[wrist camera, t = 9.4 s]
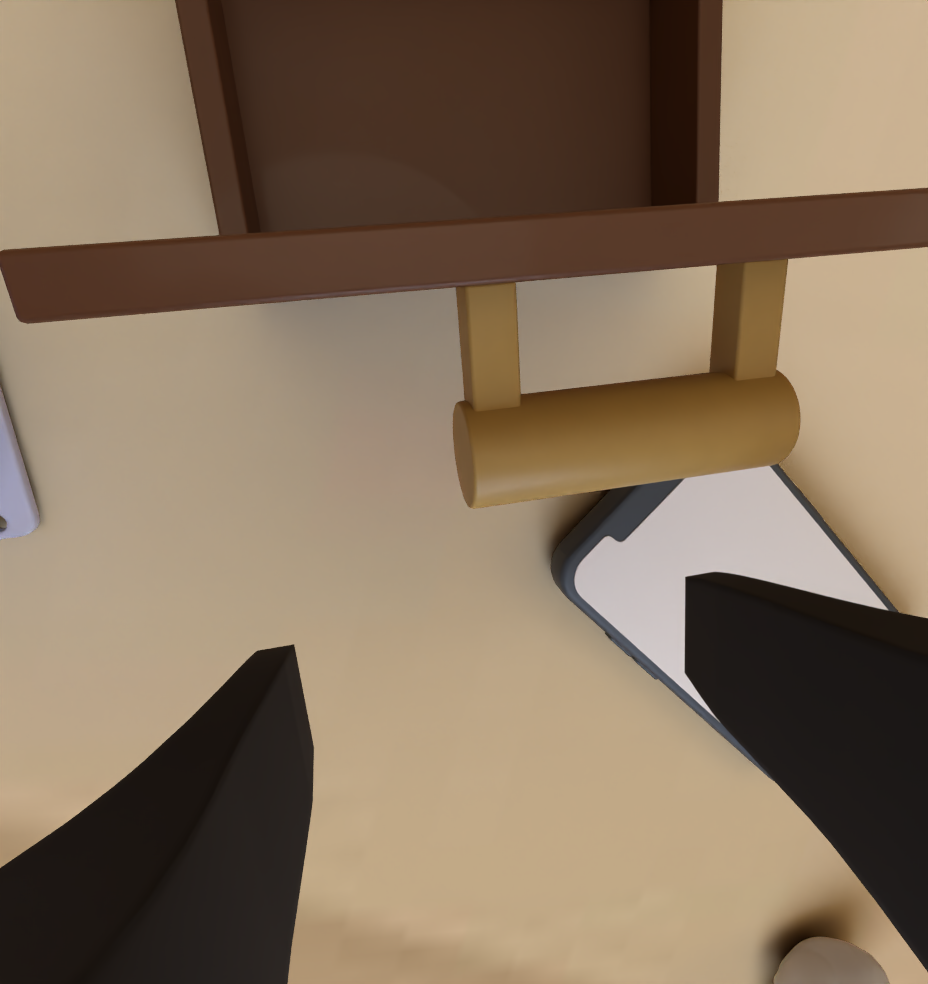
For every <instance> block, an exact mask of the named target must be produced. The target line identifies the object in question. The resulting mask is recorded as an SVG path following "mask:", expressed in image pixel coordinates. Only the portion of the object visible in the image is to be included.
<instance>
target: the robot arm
mask: <svg viewBox="0 0 928 984" xmlns="http://www.w3.org/2000/svg"><path fill="white" fill-rule="evenodd" d="M0 516H1V517H3V518H4V519H5V520H6V522H7V528H2V527H0V539H6V538H14V537H21V536H24V535H27V534H29V533H31V532H33V531H34V530H35V529H36V528H37V527H38V525H39V523H40V515H39V512H38V509H37V505H36V502H35V499H34V495H33V492H32V489H31V486H30V482H29V479H28V476H27V472H26V469H25V466H24V462H23V459H22V456H21V452H20V449H19V446H18V442H17V439H16V436H15V432H14V429H13V426H12V423H11V419H10V416H9V413H8V409H7V406H6V403H5V399H4V396H3V393H2V389H1V386H0ZM685 674H686V676H687V677H688V679H689V680H690V682H691V683H692V684H693V686H694V687H695V689H696V690H697V692H698V693H699V695H700V696H701V698H702V699H703V701H704V702H705V703H706V705H707V706H708V707H709V709H710V710H711V712H712V713H713V714H714V716H715V717H716V718H717V719H718V720H719V721H720V723H721V724H722V725H723V726H724V727H725V728H726V729H727V730H728V732H729V733H730V734H731V735H732V736H733V737H734V738H735V739H736V740H737V741H738V742H739V744H740V745H741V746H742V747H743V748H744V749H745V750H746V751H747V752H748V753H749V754H750V755H751V757H752V758H753V759H754V760H755V761H756V762H757V763H758V764H759V765H760V766H761V767H762V768H763V769H764V770H765V771H766V773H767V774H768V775H769V776H770V777H771V778H772V779H773V780H774V781H775V782H776V783H777V784H778V785H779V786H780V788H781V789H782V790H783V791H784V792H785V793H786V794H787V795H788V796H789V797H790V798H791V799H792V800H793V801H794V803H795V804H796V805H797V806H798V807H799V808H800V809H801V810H802V811H803V812H804V813H805V814H806V815H807V816H808V817H809V819H810V820H811V821H812V822H813V823H814V824H815V826H816V827H817V828H818V829H819V830H820V831H821V832H822V834H823V835H824V836H825V837H826V838H827V839H828V841H829V842H830V843H831V844H832V845H833V847H834V848H835V849H836V850H837V852H838V853H839V854H840V856H841V857H842V858H843V859H844V861H845V862H846V863H847V865H848V866H849V867H850V868H851V870H852V871H853V872H854V874H855V875H856V876H857V877H858V879H859V880H860V881H861V883H862V884H863V885H864V886H865V888H866V889H867V890H868V892H869V893H870V894H871V895H872V897H873V898H874V899H875V901H876V902H877V903H878V905H879V906H880V907H881V909H882V910H883V911H884V913H885V914H886V916H887V917H888V918H889V920H890V921H891V922H892V924H893V925H894V926H895V928H896V929H897V931H898V932H899V933H900V935H901V936H902V937H903V939H904V940H905V941H906V943H907V944H908V946H909V947H910V948H911V950H912V951H913V952H914V954H915V955H916V956H917V958H918V959H919V961H920V962H921V963H922V965H923V966H924V967H925V969H926V970H927V971H928V618H923V617H917V616H912V615H908V614H903V613H898V612H894V611H889V610H884V609H880V608H875V607H870V606H866V605H862V604H857V603H853V602H849V601H845V600H841V599H836V598H832V597H828V596H824V595H820V594H816V593H812V592H808V591H804V590H800V589H797V588H793V587H789V586H785V585H781V584H776V583H772V582H768V581H764V580H760V579H756V578H751V577H747V576H742V575H737V574H731V573H724V572H709V573H704V574H698V575H692V576H686V577H685ZM313 760H314V746H313V741H312V736H311V730H310V725H309V720H308V715H307V709H306V704H305V699H304V694H303V689H302V683H301V678H300V673H299V668H298V663H297V657H296V652H295V647H294V645H288V646H283V647H277V648H271V649H265V650H260V651H256V652H255V653H254V654H253V655H252V656H251V657H250V658H249V659H248V660H247V661H246V662H245V663H244V664H243V665H242V666H241V667H240V668H239V669H238V670H237V671H236V672H235V673H234V674H233V675H232V676H231V677H230V678H229V679H228V680H227V682H226V683H225V684H224V685H223V686H222V687H221V688H220V689H219V690H218V691H217V692H216V693H215V694H214V695H213V696H212V697H211V698H210V699H209V700H208V701H207V702H206V703H205V704H204V705H203V706H202V707H201V708H200V709H199V710H198V711H197V712H196V713H195V714H194V715H193V716H192V717H191V718H190V719H189V720H188V721H187V722H186V723H185V724H184V725H183V726H181V727H180V728H179V729H178V730H177V731H176V732H175V733H174V734H173V735H172V736H171V737H170V738H168V739H167V740H166V741H165V742H164V743H163V744H162V745H161V746H160V747H159V748H158V749H157V750H155V751H154V752H153V753H152V754H151V755H150V756H149V757H148V758H147V759H146V760H145V761H143V762H142V763H141V764H140V765H139V766H138V767H136V768H135V769H134V770H133V771H132V772H131V773H129V774H128V775H127V776H126V777H125V778H123V779H122V780H121V781H120V782H118V783H117V784H116V785H115V786H114V787H112V788H111V789H110V790H109V791H107V792H106V793H105V794H103V795H102V796H101V797H99V798H98V799H97V800H96V801H94V802H93V803H92V804H90V805H89V806H88V807H87V808H85V809H84V810H83V811H81V812H80V813H79V814H78V815H76V816H75V817H73V818H72V819H71V820H69V821H68V822H67V823H65V824H64V825H63V826H61V827H60V828H58V829H57V830H55V831H54V832H52V833H51V834H49V835H48V836H46V837H45V838H44V839H42V840H41V841H39V842H38V843H36V844H35V845H33V846H32V847H30V848H29V849H27V850H26V851H25V852H23V853H22V854H20V855H19V856H17V857H16V858H14V859H13V860H11V861H10V862H8V863H7V864H6V865H4V866H3V867H1V868H0V984H287V982H288V973H289V964H290V955H291V946H292V940H293V933H294V926H295V919H296V913H297V906H298V899H299V893H300V886H301V879H302V872H303V866H304V859H305V852H306V845H307V838H308V831H309V825H310V817H311V810H312V801H313Z"/></svg>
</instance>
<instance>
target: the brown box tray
mask: <svg viewBox="0 0 928 984" xmlns="http://www.w3.org/2000/svg"><path fill="white" fill-rule="evenodd" d="M175 3H176V8H177V13H178V19H179V24H180V29H181V34H182V40H183V45H184V50H185V55H186V61H187V66H188V71H189V76H190V82H191V87H192V92H193V98H194V103H195V108H196V113H197V119H198V124H199V129H200V134H201V140H202V145H203V150H204V155H205V161H206V166H207V171H208V177H209V182H210V187H211V192H212V198H213V203H214V208H215V213H216V219H217V224H218V229H219V234H220V235H232V234H247V233H262V232H277V231H291V230H306V229H321V228H336V227H351V226H366V225H381V224H396V223H411V222H426V221H440V220H455V219H470V218H485V217H500V216H515V215H530V214H545V213H560V212H575V211H590V210H604V209H619V208H634V207H649V206H664V205H679V204H694V203H709V202H718V200H719V151H720V101H721V52H722V3H723V0H175Z"/></svg>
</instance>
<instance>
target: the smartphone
mask: <svg viewBox="0 0 928 984" xmlns="http://www.w3.org/2000/svg"><path fill="white" fill-rule="evenodd" d="M709 572H724V573H731V574H737V575H742V576H747V577H751V578H756V579H760V580H764V581H768V582H772V583H776V584H781V585H785V586H789V587H793V588H797V589H800V590H804V591H808V592H812V593H816V594H820V595H824V596H828V597H832V598H836V599H841V600H845V601H849V602H853V603H857V604H862V605H866V606H870V607H875V608H880V609H884V610H889V611H894V612H898V611H897V609H896V608H895V607H894V606H893V604H892V603H891V602H890V601H889V600H888V598H887V597H886V596H885V595H884V593H883V592H882V591H881V590H880V589H879V587H878V586H877V585H876V584H875V582H874V581H873V580H872V579H871V577H870V576H869V575H868V574H867V573H866V571H865V570H864V569H863V568H862V566H861V565H860V564H859V563H858V562H857V560H856V559H855V558H854V557H853V555H852V554H851V553H850V552H849V551H848V549H847V548H846V547H845V546H844V544H843V543H842V542H841V541H840V540H839V538H838V537H837V536H836V535H835V533H834V532H833V531H832V530H831V529H830V527H829V526H828V525H827V524H826V522H825V521H824V520H823V518H822V517H821V515H820V514H819V513H818V512H817V510H816V509H815V508H814V507H813V505H812V504H811V503H810V502H809V501H808V499H807V498H806V497H805V496H804V494H803V493H802V492H801V491H800V490H799V489H798V488H797V487H796V486H795V484H794V483H793V482H792V481H791V480H790V478H789V477H788V476H787V475H786V473H785V472H784V471H783V470H782V469H781V467H780V466H779V465H778V464H775V465H772V466H765V467H758V468H752V469H745V470H738V471H731V472H724V473H717V474H710V475H703V476H696V477H689V478H682V479H676V480H669V481H662V482H655V483H648V484H641V485H634V486H627V487H620V488H613V489H611V490H610V491H609V492H608V493H607V494H606V495H605V496H604V497H603V498H602V499H601V501H600V502H599V503H598V504H597V505H596V506H595V507H594V508H593V509H592V510H591V511H590V512H589V513H588V514H587V515H586V516H585V517H584V518H583V519H582V520H581V521H580V522H579V523H578V525H577V526H576V527H575V528H574V529H573V530H572V531H571V532H570V533H569V534H568V535H567V536H566V537H565V538H564V539H563V540H562V541H561V542H560V544H559V545H558V546H557V548H556V550H555V552H554V554H553V557H552V561H551V573H552V576H553V580H554V581H555V583H556V585H557V586H558V587H559V589H560V590H561V591H562V592H563V593H564V594H565V596H566V597H567V598H568V599H569V600H570V601H571V602H573V603H574V604H575V605H576V606H577V607H578V608H579V609H580V610H582V611H583V612H584V613H585V614H586V615H587V616H588V617H589V618H591V619H592V620H593V621H594V622H595V623H596V624H597V625H598V626H600V627H601V628H602V629H603V630H604V631H605V634H606V635H607V636H608V638H609V639H610V640H611V641H613V642H614V643H615V644H616V645H617V646H618V647H619V648H620V649H622V650H623V651H624V652H625V653H626V654H627V655H628V656H630V657H632V658H633V659H634V661H635V662H636V663H637V664H638V665H640V666H641V667H642V668H643V669H644V670H645V671H646V672H647V673H649V674H650V675H651V676H652V677H653V678H654V679H659V680H660V681H661V682H662V683H664V684H665V685H666V686H667V687H668V688H669V689H670V690H671V691H672V692H674V693H675V694H676V695H677V696H678V697H679V698H680V699H681V700H683V701H684V702H685V703H686V704H687V705H688V706H689V707H690V708H692V709H693V710H694V711H695V712H696V713H697V714H698V715H699V716H701V717H702V718H703V719H704V720H705V721H706V722H707V723H708V724H710V725H711V726H712V727H713V728H714V729H715V730H716V731H717V732H719V733H720V734H721V735H722V736H723V737H724V738H725V739H726V740H727V741H729V742H730V743H731V744H732V745H733V746H734V747H735V748H736V749H738V750H739V751H740V752H741V753H742V754H743V755H744V756H745V757H747V758H748V759H749V760H750V761H751V762H752V763H753V764H754V765H756V766H757V767H758V768H759V769H760V770H761V771H762V772H763V773H765V774H766V775H767V776H768V777H769V778H770V779H772V778H771V777H770V776H769V775H768V774H767V773H766V771H765V770H764V769H763V768H762V767H761V766H760V765H759V764H758V763H757V762H756V761H755V760H754V759H753V758H752V757H751V755H750V754H749V753H748V752H747V751H746V750H745V749H744V748H743V747H742V746H741V745H740V744H739V742H738V741H737V740H736V739H735V738H734V737H733V736H732V735H731V734H730V733H729V732H728V730H727V729H726V728H725V727H724V726H723V725H722V724H721V723H720V721H719V720H718V719H717V718H716V717H715V716H714V714H713V713H712V712H711V710H710V709H709V707H708V706H707V705H706V703H705V702H704V701H703V699H702V698H701V696H700V695H699V693H698V692H697V690H696V689H695V687H694V686H693V684H692V683H691V682H690V680H689V679H688V677H687V676H686V674H685V577H686V576H692V575H698V574H704V573H709ZM898 613H899V612H898ZM772 780H773V779H772ZM773 781H774V780H773Z"/></svg>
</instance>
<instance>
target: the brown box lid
mask: <svg viewBox="0 0 928 984" xmlns="http://www.w3.org/2000/svg"><path fill="white" fill-rule="evenodd" d="M922 247H928V188H917V189H903V190H888V191H873V192H858V193H843V194H828V195H813V196H798V197H783V198H768V199H754V200H739V201H724V202H709V203H694V204H679V205H664V206H649V207H634V208H619V209H604V210H590V211H575V212H560V213H545V214H530V215H515V216H500V217H485V218H470V219H455V220H440V221H426V222H411V223H396V224H381V225H366V226H351V227H336V228H321V229H306V230H291V231H277V232H262V233H247V234H232V235H217V236H202V237H187V238H172V239H157V240H142V241H127V242H113V243H98V244H83V245H68V246H53V247H38V248H23V249H8V250H2V251H0V268H1V271H2V274H3V277H4V281H5V284H6V287H7V290H8V293H9V296H10V299H11V302H12V305H13V308H14V311H15V314H16V317H17V318H18V320H19V321H20V322H23V323H27V324H29V323H41V322H52V321H64V320H76V319H88V318H99V317H111V316H123V315H135V314H146V313H158V312H170V311H182V310H193V309H205V308H217V307H229V306H240V305H252V304H264V303H276V302H287V301H299V300H311V299H323V298H334V297H346V296H358V295H370V294H381V293H393V292H405V291H417V290H428V289H440V288H452V287H456V294H457V307H458V320H459V333H460V346H461V359H462V372H463V385H464V398H465V401H459V402H457V403H456V405H455V408H454V413H453V440H454V451H455V459H456V465H457V471H458V477H459V481H460V486H461V489H462V493H463V496H464V499H465V501H466V503H467V505H468V506H469V507H470V508H473V509H475V508H482V507H489V506H496V505H503V504H510V503H517V502H524V501H531V500H538V499H544V498H551V497H558V496H565V495H572V494H579V493H586V492H593V491H600V490H607V489H613V488H620V487H627V486H634V485H641V484H648V483H655V482H662V481H669V480H676V479H682V478H689V477H696V476H703V475H710V474H717V473H724V472H731V471H738V470H745V469H752V468H758V467H765V466H772V465H775V464H777V463H779V462H781V461H782V460H784V459H785V458H786V457H787V456H788V455H789V454H790V452H791V451H792V449H793V448H794V446H795V444H796V441H797V438H798V435H799V429H800V407H799V402H798V399H797V396H796V393H795V391H794V388H793V386H792V385H791V383H790V382H789V380H788V379H787V378H786V377H785V376H784V375H783V374H782V373H781V372H779V371H778V370H776V366H777V357H778V347H779V338H780V329H781V320H782V311H783V302H784V292H785V283H786V274H787V265H788V259H792V258H804V257H816V256H828V255H839V254H851V253H863V252H875V251H886V250H898V249H910V248H922ZM710 265H717V271H716V286H715V300H714V315H713V329H712V343H711V358H710V372H709V373H701V374H693V375H684V376H675V377H667V378H658V379H649V380H641V381H632V382H623V383H615V384H606V385H597V386H589V387H580V388H572V389H563V390H554V391H546V392H537V393H528V394H521V392H520V368H519V345H518V322H517V299H516V283H515V282H522V281H534V280H546V279H557V278H569V277H581V276H593V275H604V274H616V273H628V272H640V271H651V270H663V269H675V268H687V267H698V266H710Z"/></svg>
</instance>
